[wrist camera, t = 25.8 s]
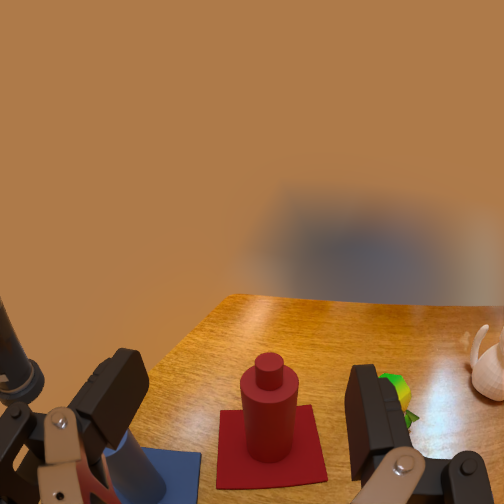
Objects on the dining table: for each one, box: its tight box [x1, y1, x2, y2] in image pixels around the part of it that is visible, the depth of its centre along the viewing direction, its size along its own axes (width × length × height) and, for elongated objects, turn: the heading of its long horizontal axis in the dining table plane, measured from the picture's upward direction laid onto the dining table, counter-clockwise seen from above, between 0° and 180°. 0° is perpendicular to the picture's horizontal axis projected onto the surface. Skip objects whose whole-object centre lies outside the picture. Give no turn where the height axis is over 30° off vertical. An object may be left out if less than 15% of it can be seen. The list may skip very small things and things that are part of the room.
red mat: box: [216, 405, 328, 490], centre depth 28 cm, size 12×12×1 cm
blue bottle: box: [103, 428, 166, 504], centre depth 19 cm, size 5×5×14 cm
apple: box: [378, 373, 419, 428], centre depth 29 cm, size 7×6×9 cm
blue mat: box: [113, 447, 201, 504], centre depth 21 cm, size 12×12×1 cm
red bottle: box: [240, 353, 299, 463], centre depth 25 cm, size 5×5×14 cm
